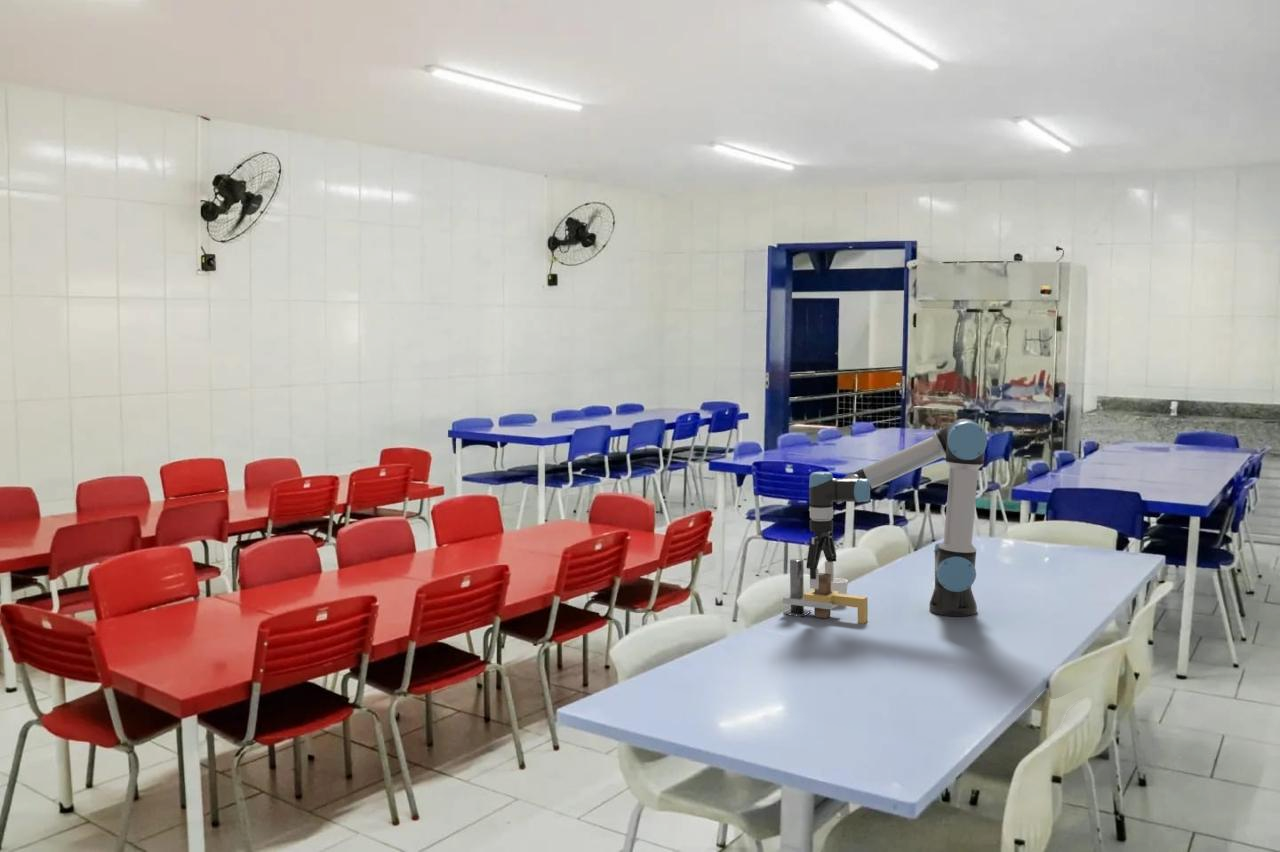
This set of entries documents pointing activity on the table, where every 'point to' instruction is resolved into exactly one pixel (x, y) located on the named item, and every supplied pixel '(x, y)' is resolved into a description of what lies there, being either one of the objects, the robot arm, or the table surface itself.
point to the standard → (800, 592)
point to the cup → (839, 585)
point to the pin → (823, 590)
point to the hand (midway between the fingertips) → (821, 584)
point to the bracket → (842, 602)
